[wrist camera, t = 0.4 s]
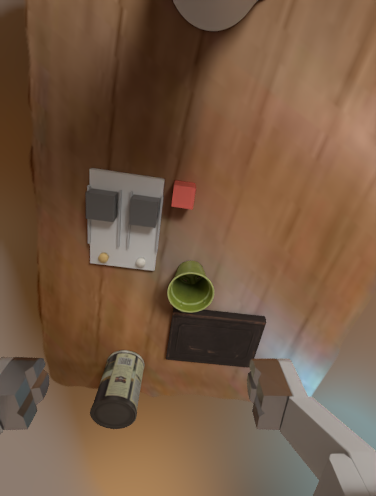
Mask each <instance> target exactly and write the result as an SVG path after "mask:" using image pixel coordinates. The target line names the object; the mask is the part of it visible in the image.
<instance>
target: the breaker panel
mask: <svg viewBox="0 0 376 496" xmlns="http://www.w3.org/2000/svg"><path fill="white" fill-rule="evenodd" d="M89 172H90V185H87V191H88V190H90V189H91V188H93V189H100V190H107V191H114V192H118V210H117V218H116V219H115V220H114V222H107V221H100V220H92V219H87V221H88V244H90V263H93V264H101V265H110V266H118V267H126V268H134V269H142V270H151V271H154V270H155V264H156V255H157V251H158V242H159V233H160V224H161V215H162V206H163V197H164V196H163V191H164V181H165V179H164V178H157V177H150V176H144V175H137V174H130V173H123V172H117V171H110V170H103V169H96V168H90V169H89ZM134 194H135V195H142V196H149V197H156V198H160V199H159V209H158V218H157V224H156V228H152V227H144V226H137V225H129V216H130V199H131V197H132V196H133V195H134Z"/></svg>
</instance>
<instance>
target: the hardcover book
mask: <svg viewBox="0 0 376 496" xmlns="http://www.w3.org/2000/svg"><path fill="white" fill-rule="evenodd" d="M265 324H266V319H265V317H264V316H256V315H247V314H238V313H229V312H220V311H211V310H201V311H198V312H192V313H189V312H183V311H180V310H178V309H176V308H175V307H173V315H172V322H171V329H170V335H169V342H168V348H167V355H166V359H168V360H178V361H188V362H198V363H209V364H219V365H229V366H239V367H249V364H250V360H251V359H254V357H255V354H256V351H257V348H258V345H259V342H260V339H261V336H262V333H263V330H264V327H265Z"/></svg>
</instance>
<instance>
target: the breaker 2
mask: <svg viewBox="0 0 376 496" xmlns="http://www.w3.org/2000/svg"><path fill="white" fill-rule="evenodd" d="M159 199H160V198H156V197H149V196H142V195H135V194H134V195H133V196H132V197H131V199H130V216H129V225H137V226H144V227H152V228H156V224H157V218H158V209H159Z"/></svg>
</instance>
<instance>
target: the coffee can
mask: <svg viewBox="0 0 376 496" xmlns="http://www.w3.org/2000/svg"><path fill="white" fill-rule="evenodd" d="M143 369H144V361H143V359H142V358H141V357H140V355H138V354H137V353H135V352H132V351H127V350H121V351H117V352H114V353H112V354H111V355H110V356H109V357H108V359H107V364H106V367H105V370H104V373H103V376H102V379H101V382H100V385H99V388H98V391H97V394H96V397H95V400H94V403H93V406H92V408H91V411H90V415H91V417H92V419H93V420H94V421H95V422H96V423H97V424H99V425H100V426H103V427H106V428H111V429H120V428H125V427H127V426H129V425H131V424H132V423H133V422H134V421H135V419H136V415H137V406H138V399H139V393H140V387H141V381H142V375H143Z"/></svg>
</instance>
